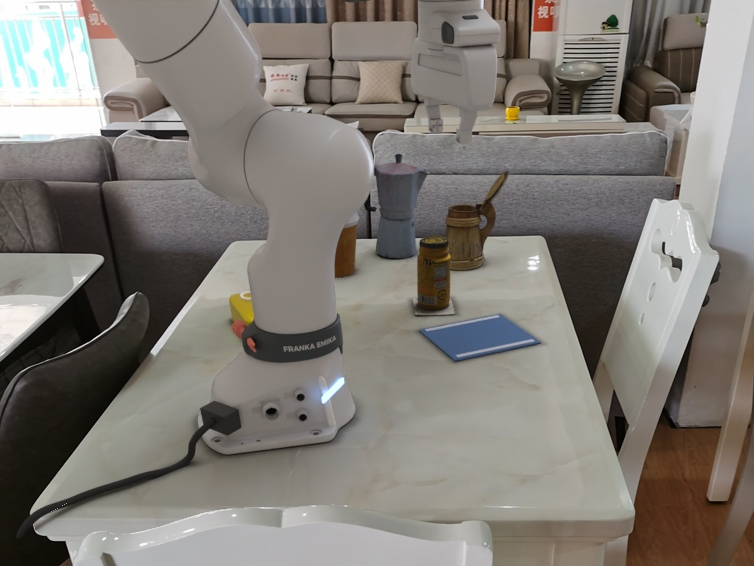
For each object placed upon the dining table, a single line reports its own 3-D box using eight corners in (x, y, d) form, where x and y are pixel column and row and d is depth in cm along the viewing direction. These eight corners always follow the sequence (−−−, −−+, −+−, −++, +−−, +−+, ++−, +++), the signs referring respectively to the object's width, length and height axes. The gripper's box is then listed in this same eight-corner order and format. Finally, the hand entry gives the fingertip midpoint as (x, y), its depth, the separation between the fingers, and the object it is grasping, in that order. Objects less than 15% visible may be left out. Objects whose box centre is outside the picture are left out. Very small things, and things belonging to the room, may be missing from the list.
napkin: (455, 361, 125) (455, 359, 125) (419, 331, 136) (419, 329, 135) (540, 343, 130) (540, 341, 130) (499, 315, 140) (500, 313, 140)
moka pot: (429, 259, 167) (429, 158, 155) (358, 261, 167) (352, 160, 155) (429, 246, 174) (429, 148, 162) (360, 247, 175) (355, 150, 163)
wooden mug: (506, 269, 160) (512, 175, 149) (441, 271, 161) (441, 177, 150) (502, 256, 167) (507, 165, 156) (440, 257, 168) (440, 167, 157)
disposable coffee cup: (321, 264, 166) (316, 205, 159) (365, 265, 165) (362, 205, 158) (311, 279, 159) (306, 218, 151) (357, 280, 157) (354, 218, 150)
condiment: (450, 298, 148) (451, 233, 141) (455, 314, 141) (456, 247, 134) (412, 299, 148) (411, 234, 141) (415, 316, 141) (414, 249, 134)
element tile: (251, 347, 132) (247, 320, 129) (229, 317, 143) (225, 292, 140) (334, 331, 137) (332, 304, 134) (307, 303, 148) (304, 278, 145)
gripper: (399, 22, 113) (401, 128, 121) (463, 31, 97) (460, 152, 106) (438, 19, 114) (438, 124, 123) (507, 28, 99) (501, 147, 108)
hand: (449, 137), depth 114 cm, fingers open, 8 cm apart
